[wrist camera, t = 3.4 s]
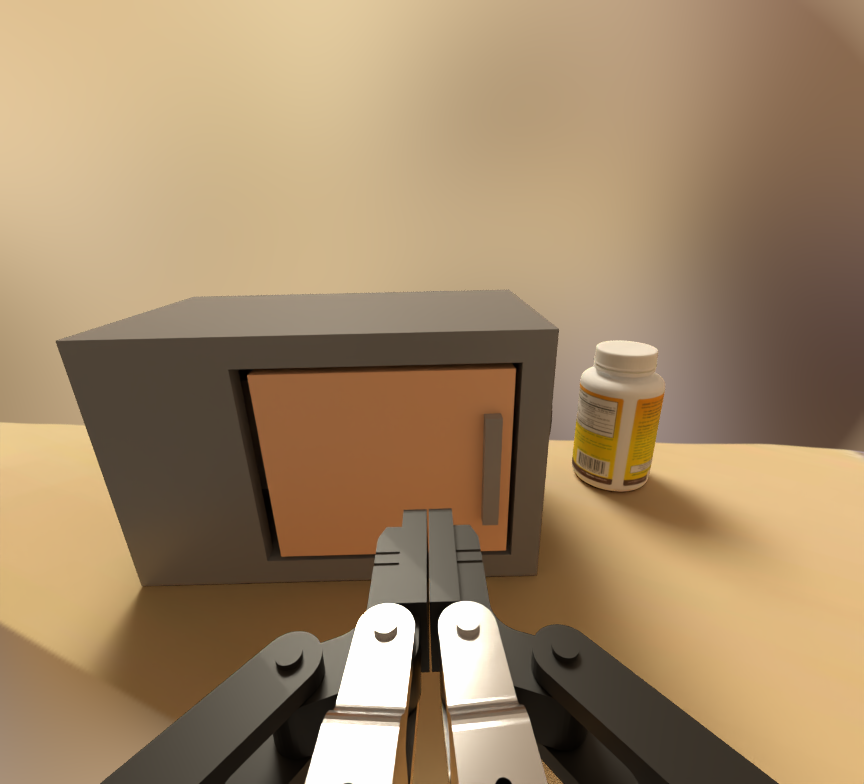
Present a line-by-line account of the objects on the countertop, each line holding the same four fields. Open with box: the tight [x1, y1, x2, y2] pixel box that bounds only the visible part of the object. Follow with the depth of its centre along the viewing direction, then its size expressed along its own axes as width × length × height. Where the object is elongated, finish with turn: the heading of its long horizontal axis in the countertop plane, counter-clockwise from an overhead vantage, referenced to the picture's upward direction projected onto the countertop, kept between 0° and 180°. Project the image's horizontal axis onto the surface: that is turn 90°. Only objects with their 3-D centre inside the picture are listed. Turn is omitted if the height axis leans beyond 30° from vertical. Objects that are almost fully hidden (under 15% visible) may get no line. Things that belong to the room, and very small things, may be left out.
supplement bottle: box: [572, 340, 665, 491], centre depth 31 cm, size 6×6×10 cm
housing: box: [56, 290, 559, 586], centre depth 27 cm, size 23×12×14 cm, turn 91°
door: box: [247, 363, 516, 557], centre depth 22 cm, size 12×2×10 cm, turn 91°
